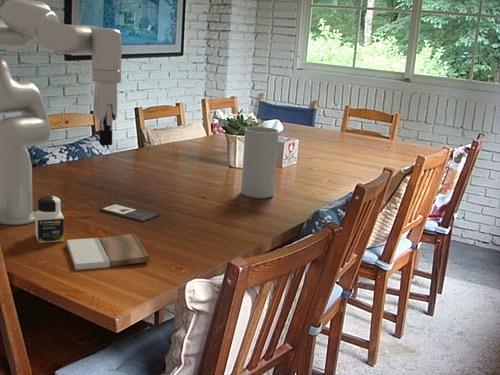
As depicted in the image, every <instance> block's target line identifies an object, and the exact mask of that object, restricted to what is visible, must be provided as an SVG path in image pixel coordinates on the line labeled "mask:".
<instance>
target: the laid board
mask: <svg viewBox="0 0 500 375" xmlns="http://www.w3.org/2000/svg"><path fill="white" fill-rule="evenodd" d="M99 238H100V237H93V238H92V237H91V238H79V239H77V238H75V239H66V246H67V249H68V252H69V255H70V257H71V260H72V264H73V265H74V269H75V270H76V271H78V270H87V269H88V270H89V269H100V268H101V269H103V268H110V267H111V265H110V260H109V258H108V256H107V254H106V252H105V250H104V248H103V246H102V244H101V242H100V240H99Z"/></svg>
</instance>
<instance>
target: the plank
mask: <svg viewBox="0 0 500 375" xmlns="http://www.w3.org/2000/svg"><path fill="white" fill-rule="evenodd" d="M98 238H99V240H100V242H101V244H102V246H103V248H104V250H105V252H106V254H107V256H108V258H109V260H110V267H118V266H124V265H132V264H140V263H147V262H148V263H149V262H150V255H149V254H148V252H147V251H146V249H145V247H144V246H143V245H142V243H141V242H140V240H139V239H138V237H137V236H136V234H135V233H131V234H130V233H129V234H121V235H113V236H105V237H98Z"/></svg>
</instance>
